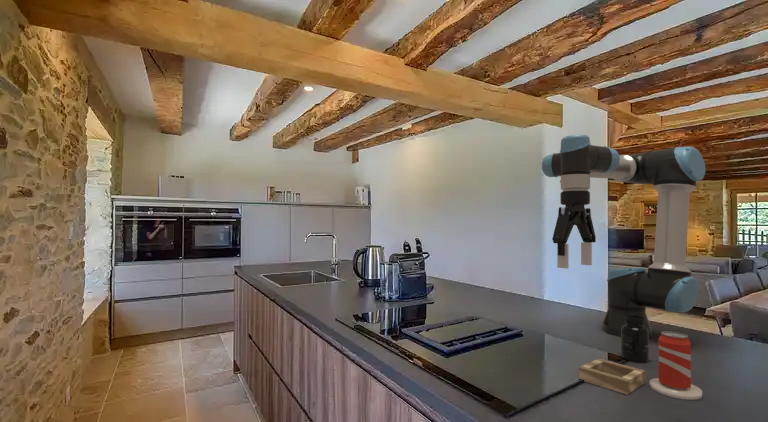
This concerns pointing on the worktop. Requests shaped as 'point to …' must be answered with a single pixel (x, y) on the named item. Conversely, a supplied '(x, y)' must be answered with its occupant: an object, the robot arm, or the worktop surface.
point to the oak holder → (612, 375)
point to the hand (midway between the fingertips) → (575, 266)
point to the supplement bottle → (635, 339)
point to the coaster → (676, 391)
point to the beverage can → (675, 360)
